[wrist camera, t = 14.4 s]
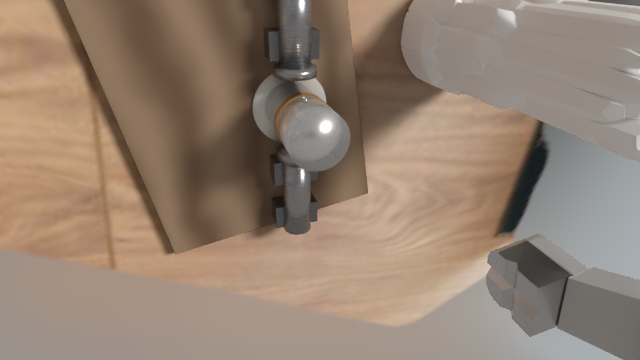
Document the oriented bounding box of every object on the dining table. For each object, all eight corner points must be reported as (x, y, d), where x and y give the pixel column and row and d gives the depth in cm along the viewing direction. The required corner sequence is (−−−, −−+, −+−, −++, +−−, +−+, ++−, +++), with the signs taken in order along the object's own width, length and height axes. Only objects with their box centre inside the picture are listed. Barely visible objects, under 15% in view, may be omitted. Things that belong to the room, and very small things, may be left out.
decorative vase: (413, -34, 38) (711, -25, 17) (504, -21, 42) (844, 0, 21) (391, 82, 43) (604, 200, 22) (475, 86, 46) (727, 189, 25)
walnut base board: (175, 247, 44) (175, 256, 42) (59, -19, 30) (55, -18, 29) (363, 188, 48) (369, 194, 47) (334, -68, 35) (341, -69, 33)
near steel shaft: (311, 68, 38) (326, 79, 35) (265, 71, 37) (275, 82, 34) (312, -41, 34) (328, -41, 31) (260, -43, 33) (270, -43, 29)
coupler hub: (270, 137, 40) (294, 179, 32) (259, 88, 37) (282, 120, 30) (319, 124, 41) (353, 161, 33) (311, 75, 38) (346, 103, 31)
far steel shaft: (268, 142, 40) (278, 159, 37) (311, 137, 42) (324, 154, 38) (272, 219, 45) (281, 240, 41) (311, 212, 46) (322, 233, 42)
